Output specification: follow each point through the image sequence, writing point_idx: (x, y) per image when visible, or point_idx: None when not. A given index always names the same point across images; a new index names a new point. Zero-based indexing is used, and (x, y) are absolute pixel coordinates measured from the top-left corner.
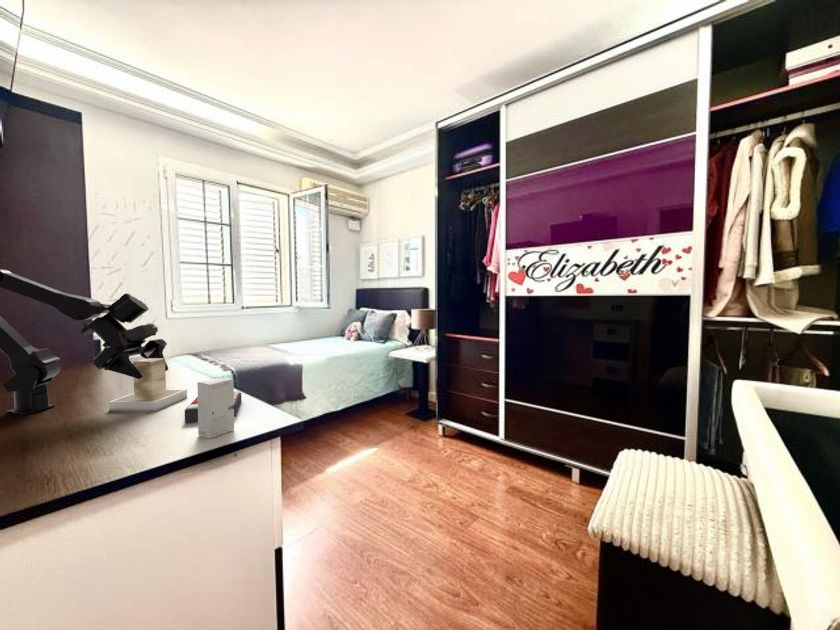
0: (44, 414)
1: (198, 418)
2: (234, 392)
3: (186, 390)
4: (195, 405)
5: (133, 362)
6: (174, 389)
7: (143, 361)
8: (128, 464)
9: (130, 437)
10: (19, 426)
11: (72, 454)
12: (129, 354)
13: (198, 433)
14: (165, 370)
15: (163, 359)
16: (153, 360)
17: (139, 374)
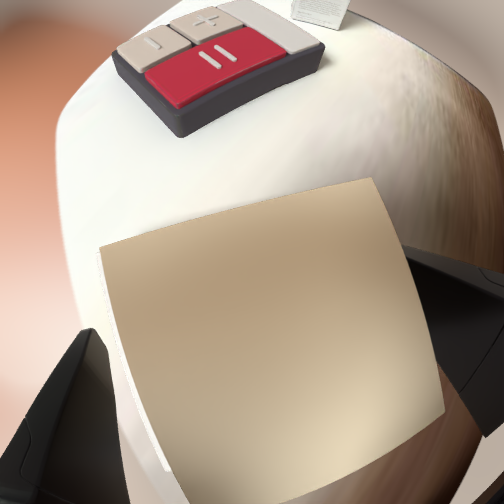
0: (418, 497)
1: (347, 7)
2: (136, 43)
3: (100, 254)
4: (295, 37)
5: (436, 405)
6: (112, 320)
7: (407, 300)
8: (426, 64)
9: (410, 116)
10: (477, 427)
11: (471, 149)
12: (490, 496)
13: (338, 28)
14: (104, 346)
15: (136, 239)
16: (306, 239)
17: (401, 246)
